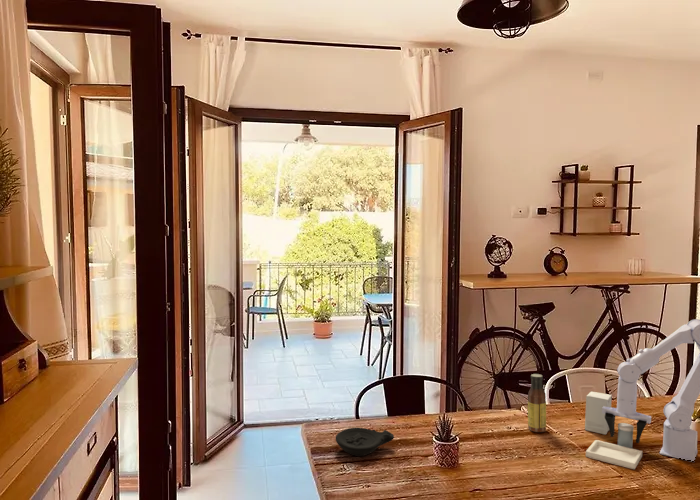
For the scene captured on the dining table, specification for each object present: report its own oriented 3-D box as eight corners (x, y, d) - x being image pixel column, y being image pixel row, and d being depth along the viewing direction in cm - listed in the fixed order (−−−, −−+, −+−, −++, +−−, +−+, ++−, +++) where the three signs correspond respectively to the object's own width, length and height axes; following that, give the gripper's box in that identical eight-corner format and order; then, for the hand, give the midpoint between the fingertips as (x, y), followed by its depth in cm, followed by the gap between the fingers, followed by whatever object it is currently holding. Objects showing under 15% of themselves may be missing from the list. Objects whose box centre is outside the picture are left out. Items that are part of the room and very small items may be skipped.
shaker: (633, 446, 180) (634, 425, 180) (631, 450, 177) (632, 429, 176) (618, 442, 183) (619, 421, 183) (615, 447, 180) (616, 425, 179)
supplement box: (606, 435, 190) (607, 399, 189) (584, 430, 194) (585, 395, 194) (611, 429, 196) (612, 394, 195) (589, 424, 200) (590, 390, 200)
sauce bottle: (543, 427, 196) (545, 373, 196) (548, 433, 190) (549, 378, 189) (525, 426, 197) (526, 372, 196) (528, 432, 191) (530, 377, 190)
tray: (642, 456, 172) (642, 451, 172) (634, 469, 163) (634, 463, 163) (595, 444, 181) (595, 439, 181) (585, 456, 172) (585, 451, 171)
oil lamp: (402, 456, 170) (402, 440, 170) (343, 463, 164) (343, 447, 164) (385, 438, 184) (385, 424, 184) (330, 444, 178) (330, 429, 178)
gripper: (600, 397, 181) (598, 436, 181) (649, 406, 172) (647, 448, 172) (605, 392, 186) (603, 430, 187) (653, 401, 177) (651, 442, 178)
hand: (624, 439), depth 180 cm, fingers open, 7 cm apart
